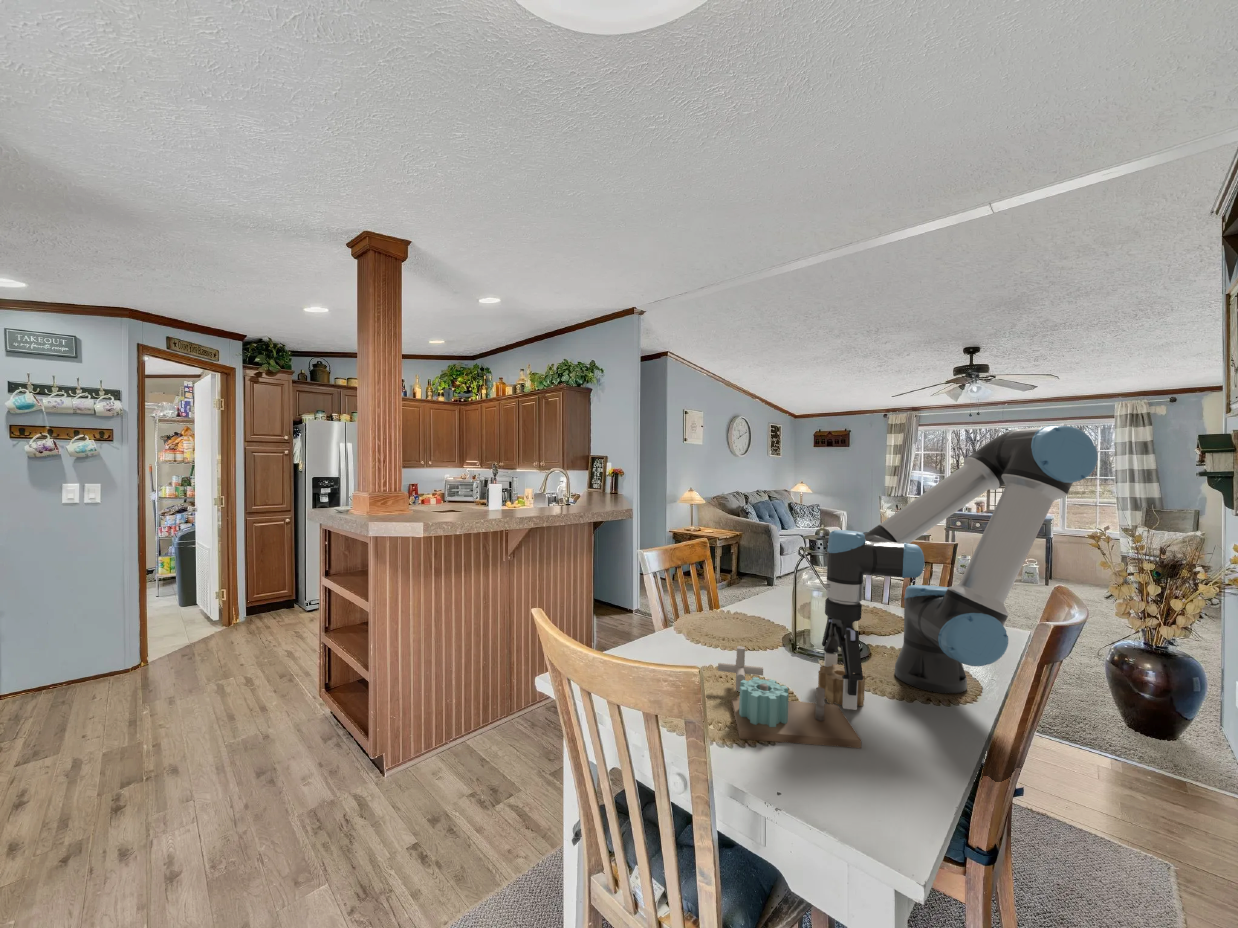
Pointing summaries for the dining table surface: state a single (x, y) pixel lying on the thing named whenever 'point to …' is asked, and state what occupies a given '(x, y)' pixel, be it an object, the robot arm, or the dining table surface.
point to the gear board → (802, 724)
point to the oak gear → (837, 684)
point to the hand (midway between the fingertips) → (839, 693)
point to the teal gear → (763, 702)
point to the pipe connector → (740, 667)
